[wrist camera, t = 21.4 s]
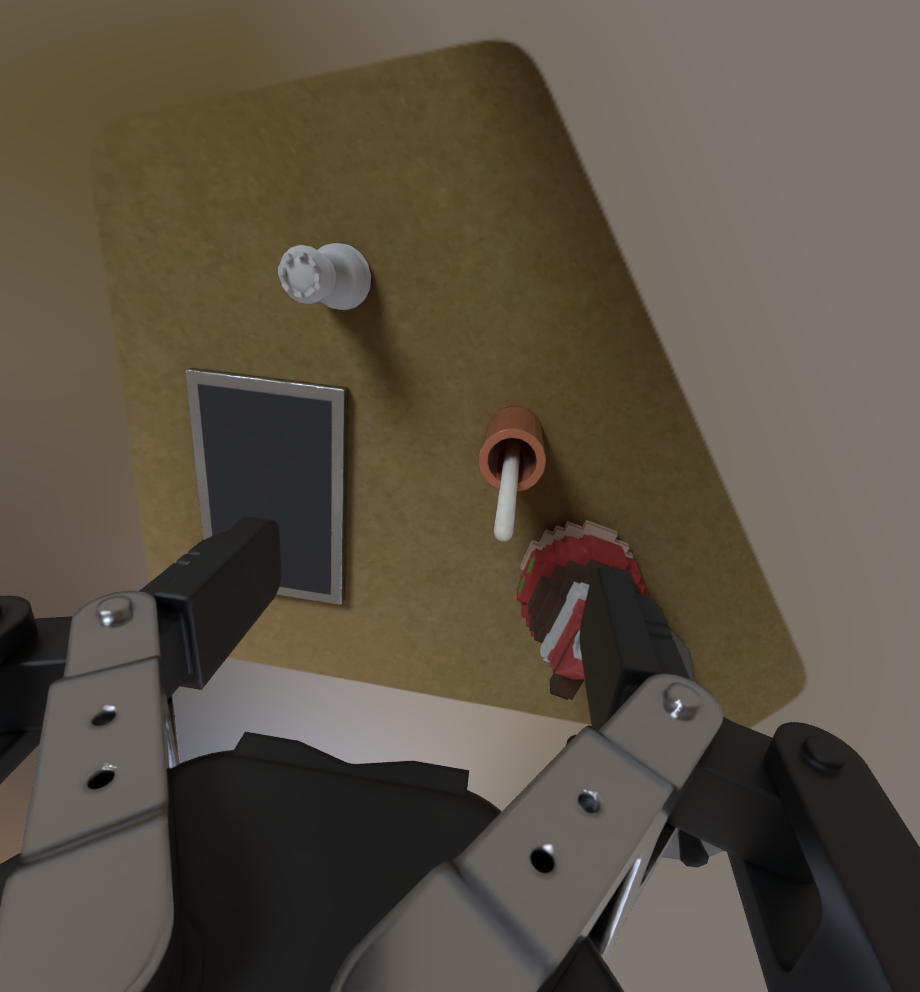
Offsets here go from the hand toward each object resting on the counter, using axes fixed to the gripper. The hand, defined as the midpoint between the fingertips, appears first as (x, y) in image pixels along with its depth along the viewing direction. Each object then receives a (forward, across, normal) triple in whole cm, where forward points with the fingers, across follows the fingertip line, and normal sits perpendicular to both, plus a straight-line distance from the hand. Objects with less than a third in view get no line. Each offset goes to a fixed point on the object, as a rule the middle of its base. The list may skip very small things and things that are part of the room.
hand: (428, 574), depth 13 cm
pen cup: (+28, -2, +4) cm, 29 cm away
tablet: (+28, +18, +12) cm, 35 cm away
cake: (+28, -9, +15) cm, 33 cm away
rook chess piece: (+29, +12, -6) cm, 31 cm away
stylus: (+28, -2, +4) cm, 28 cm away
